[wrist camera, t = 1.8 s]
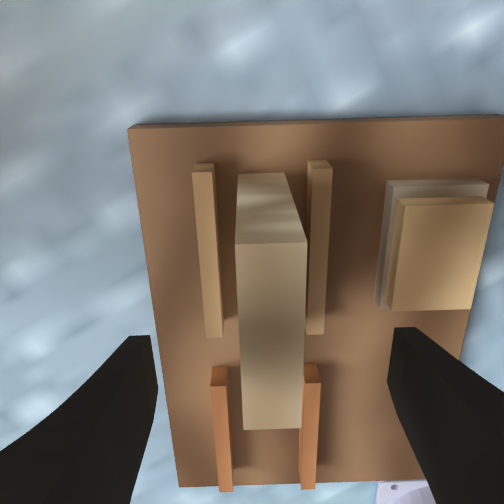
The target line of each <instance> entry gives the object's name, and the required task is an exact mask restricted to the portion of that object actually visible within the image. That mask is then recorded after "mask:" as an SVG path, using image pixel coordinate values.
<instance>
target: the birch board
mask: <svg viewBox="0 0 504 504" xmlns="http://www.w3.org/2000/svg"><path fill="white" fill-rule="evenodd" d="M235 259H236V280H237V302H238V324H239V345H240V367H241V389H242V410H243V430H258V429H289V428H301V426H302V395H303V364H304V333H305V303H306V272H307V239H306V236H305V233H304V230H303V227H302V224H301V221H300V218H299V215H298V212H297V209H296V206H295V203H294V200H293V197H292V194H291V191H290V188H289V185H288V182H287V179H286V176H285V173H284V172H279V173H245V174H238V186H237V208H236V230H235Z"/></svg>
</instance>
